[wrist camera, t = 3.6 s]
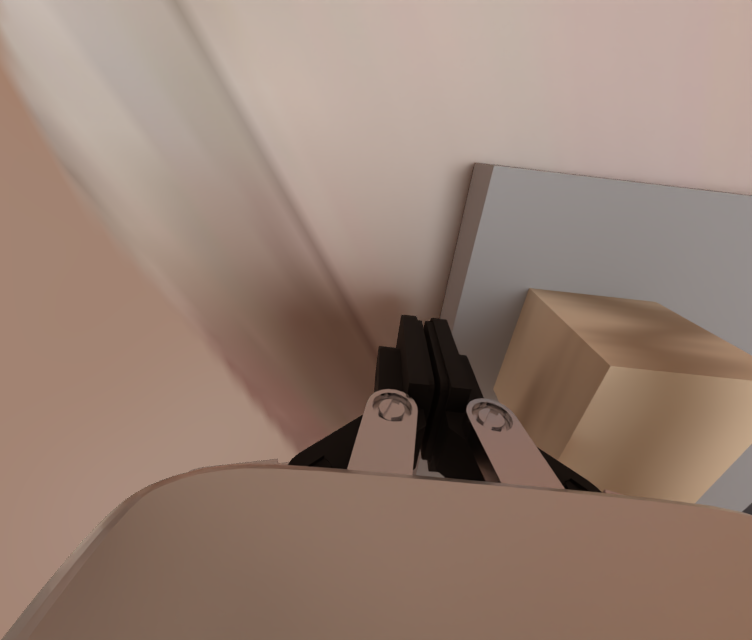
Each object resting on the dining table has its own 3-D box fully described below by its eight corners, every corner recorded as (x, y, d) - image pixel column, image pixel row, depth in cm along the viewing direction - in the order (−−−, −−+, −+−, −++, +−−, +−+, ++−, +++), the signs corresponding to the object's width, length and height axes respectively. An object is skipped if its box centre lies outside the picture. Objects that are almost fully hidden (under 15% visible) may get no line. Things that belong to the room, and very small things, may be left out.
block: (656, 301, 12) (806, 386, 8) (599, 399, 15) (691, 507, 10) (529, 288, 12) (610, 365, 8) (493, 389, 15) (539, 492, 10)
